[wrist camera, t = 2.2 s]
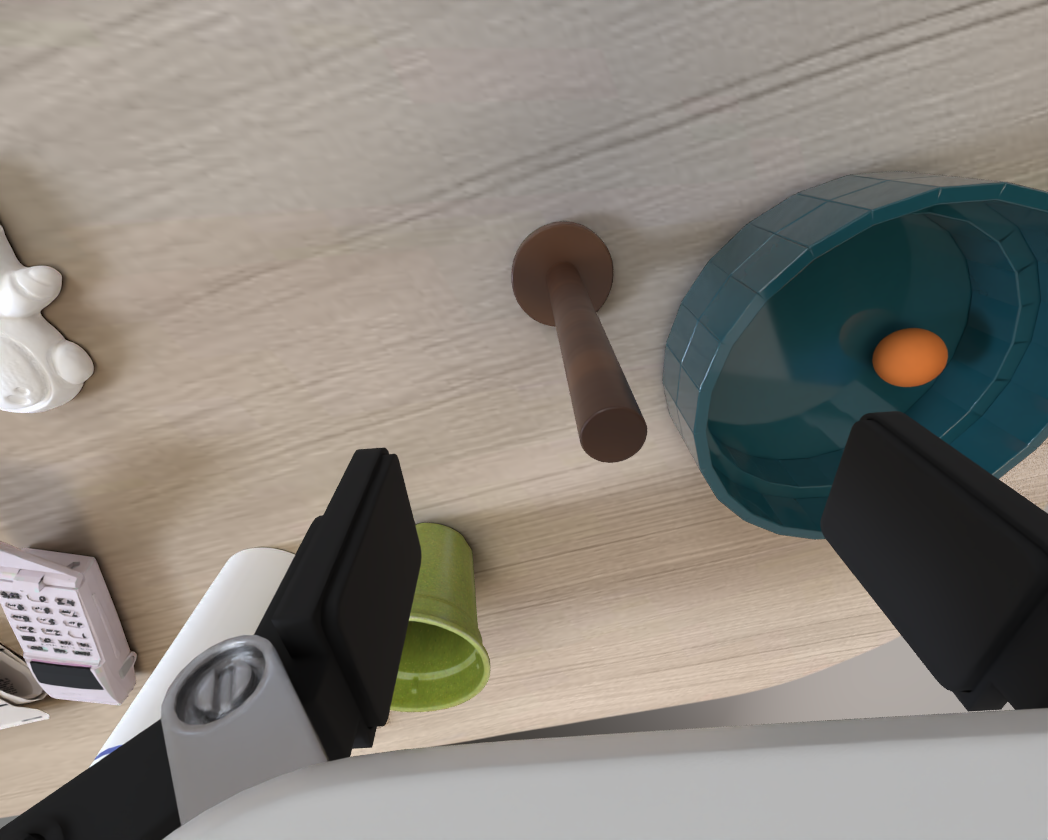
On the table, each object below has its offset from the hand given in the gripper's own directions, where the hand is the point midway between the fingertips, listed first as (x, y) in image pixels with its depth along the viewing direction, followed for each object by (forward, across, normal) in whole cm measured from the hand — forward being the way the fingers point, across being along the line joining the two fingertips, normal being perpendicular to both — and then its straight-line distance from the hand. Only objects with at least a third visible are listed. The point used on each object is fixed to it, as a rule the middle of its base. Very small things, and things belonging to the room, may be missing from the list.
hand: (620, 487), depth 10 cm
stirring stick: (+16, 0, 0) cm, 16 cm away
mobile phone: (+17, +37, +21) cm, 45 cm away
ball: (+14, -18, +5) cm, 23 cm away
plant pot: (+17, +10, +19) cm, 27 cm away
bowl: (+16, -14, +5) cm, 22 cm away
